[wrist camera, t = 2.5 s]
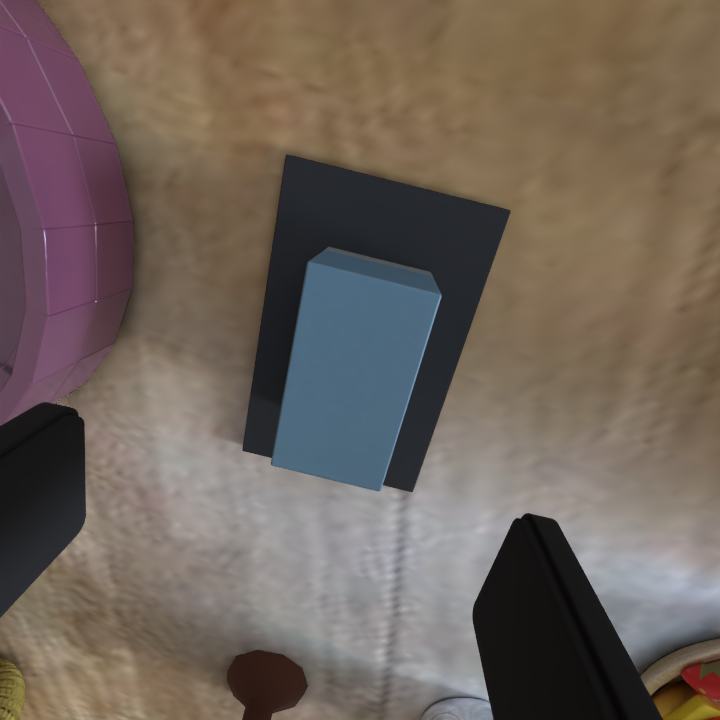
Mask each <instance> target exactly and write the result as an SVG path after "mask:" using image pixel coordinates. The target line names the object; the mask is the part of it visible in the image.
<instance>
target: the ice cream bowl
mask: <svg viewBox="0 0 720 720" xmlns="http://www.w3.org/2000/svg"><path fill="white" fill-rule="evenodd" d="M227 681H228V684H229V686H230V688H231V691H232V693H233V696H234V697H236V698H237V699H238V700H239V701H240V702H241V703H242V704H243V705H244V706H245V707H246V708H245V711H244V715H243V719H242V720H271V717H272V713H275V712H278V711H282V710H285V709H289V708H292V707H295V705H296V704H297V703H298V701H299V700H300V699H301V697H302V696H303V694H304V693H305V690H306V688H307V686H308V685H307V682H306V679H305V676H304V672H303V669H302V668H300V667H299V666H298V665H296V664H295V663H293V662H292V661H291V660H289V659H288V658H286V657H285V656H284V655H280V654H274V653H269V652H263V651H258V650H257V651H254V652H250V653H247V654H243V655H240V656H237V657H236V658H235V659H234V661H233V663H232V664H231V666H230V668H229V669H228V673H227Z"/></svg>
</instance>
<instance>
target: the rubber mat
mask: <svg viewBox="0 0 720 720" xmlns="http://www.w3.org/2000/svg"><path fill="white" fill-rule="evenodd" d="M509 214H510V210H507V209H503V208H499V207H495V206H491V205H487V204H483V203H479V202H475V201H471V200H467V199H463V198H459V197H455V196H451V195H447V194H443V193H439V192H435V191H431V190H427V189H423V188H419V187H415V186H411V185H407V184H403V183H399V182H395V181H391V180H387V179H383V178H379V177H375V176H371V175H367V174H363V173H359V172H355V171H351V170H347V169H343V168H339V167H335V166H331V165H328V164H324V163H320V162H316V161H312V160H308V159H304V158H300V157H296V156H292V155H288V154H287V155H286V158H285V165H284V172H283V179H282V185H281V192H280V199H279V206H278V213H277V219H276V226H275V233H274V240H273V247H272V253H271V260H270V267H269V274H268V280H267V287H266V294H265V301H264V308H263V314H262V321H261V328H260V335H259V341H258V348H257V355H256V362H255V369H254V375H253V382H252V389H251V396H250V402H249V409H248V416H247V423H246V430H245V436H244V443H243V451H246V452H250V453H254V454H258V455H262V456H266V457H270V458H272V455H273V449H274V444H275V438H276V433H277V427H278V422H279V416H280V411H281V405H282V399H283V394H284V388H285V383H286V377H287V372H288V366H289V361H290V355H291V350H292V344H293V339H294V333H295V328H296V322H297V317H298V311H299V306H300V300H301V295H302V289H303V283H304V278H305V272H306V267H307V263H308V261H310V260H311V259H312V258H314V257H315V256H317V255H318V254H320V253H321V252H322V251H324V250H325V249H326V248H328V247H332V248H336V249H340V250H344V251H348V252H352V253H356V254H360V255H364V256H368V257H372V258H376V259H380V260H384V261H389V262H393V263H397V264H401V265H405V266H409V267H413V268H417V269H421V270H425V271H429V272H431V274H432V276H433V278H434V281H435V283H436V285H437V287H438V289H439V291H440V293H441V300H440V303H439V306H438V309H437V313H436V316H435V319H434V322H433V325H432V329H431V332H430V335H429V338H428V341H427V345H426V348H425V351H424V354H423V357H422V361H421V364H420V367H419V370H418V373H417V377H416V380H415V383H414V386H413V390H412V393H411V396H410V399H409V402H408V406H407V409H406V412H405V415H404V418H403V422H402V425H401V428H400V431H399V434H398V438H397V441H396V444H395V447H394V450H393V454H392V457H391V460H390V463H389V466H388V470H387V473H386V476H385V479H384V482H383V485H385V486H389V487H393V488H397V489H401V490H405V491H409V492H413V490H414V487H415V484H416V481H417V478H418V475H419V472H420V469H421V467H422V464H423V461H424V458H425V455H426V452H427V449H428V447H429V444H430V441H431V438H432V435H433V432H434V429H435V426H436V424H437V421H438V418H439V415H440V412H441V409H442V406H443V403H444V401H445V398H446V395H447V392H448V389H449V386H450V383H451V381H452V378H453V375H454V372H455V369H456V366H457V363H458V360H459V358H460V355H461V352H462V349H463V346H464V343H465V340H466V338H467V335H468V332H469V329H470V326H471V323H472V320H473V317H474V315H475V312H476V309H477V306H478V303H479V300H480V297H481V295H482V292H483V289H484V286H485V283H486V280H487V277H488V274H489V272H490V269H491V266H492V263H493V260H494V257H495V254H496V251H497V249H498V246H499V243H500V240H501V237H502V234H503V231H504V229H505V226H506V223H507V220H508V217H509Z"/></svg>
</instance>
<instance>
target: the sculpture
mask: <svg viewBox="0 0 720 720" xmlns="http://www.w3.org/2000/svg"><path fill="white" fill-rule="evenodd" d="M24 683H25V682H24V679H23V677H22V674H21V673H20V670H19V669H18V668H17V667H16V665H14V664H12V662H10V661H8V660H7V659H4V658H2V657H1V658H0V720H19V718H20V717H21V713H22V710H23V706H24V702H25V700H24V699H25V687H24V686H25V685H24ZM11 714H12V715H11Z"/></svg>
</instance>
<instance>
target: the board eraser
mask: <svg viewBox="0 0 720 720" xmlns="http://www.w3.org/2000/svg"><path fill="white" fill-rule="evenodd" d="M440 300H441V293H440V291H439V289H438V287H437V285H436V283H435V281H434V278H433V276H432V274H431V272H429V271H425V270H421V269H417V268H413V267H409V266H405V265H401V264H397V263H393V262H389V261H384V260H380V259H376V258H372V257H368V256H364V255H360V254H356V253H352V252H348V251H344V250H340V249H336V248H332V247H328V248H326V249H325V250H324V251H322V252H321V253H320V254H318V255H317V256H315V257H314V258H312V259H311V260H310V261H308V263H307V267H306V272H305V278H304V283H303V289H302V295H301V300H300V306H299V311H298V317H297V322H296V328H295V333H294V339H293V344H292V350H291V355H290V361H289V366H288V372H287V377H286V383H285V388H284V394H283V399H282V405H281V411H280V416H279V422H278V427H277V433H276V438H275V444H274V449H273V455H272V460H271V465H272V466H276V467H281V468H285V469H289V470H293V471H297V472H301V473H305V474H309V475H313V476H317V477H322V478H326V479H330V480H334V481H338V482H342V483H346V484H350V485H354V486H358V487H363V488H367V489H371V490H375V491H381V489H382V486H383V482H384V479H385V476H386V473H387V470H388V466H389V463H390V460H391V457H392V454H393V450H394V447H395V444H396V441H397V438H398V434H399V431H400V428H401V425H402V422H403V418H404V415H405V412H406V409H407V406H408V402H409V399H410V396H411V393H412V390H413V386H414V383H415V380H416V377H417V373H418V370H419V367H420V364H421V361H422V357H423V354H424V351H425V348H426V345H427V341H428V338H429V335H430V332H431V329H432V325H433V322H434V319H435V316H436V313H437V309H438V306H439V303H440Z"/></svg>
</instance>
